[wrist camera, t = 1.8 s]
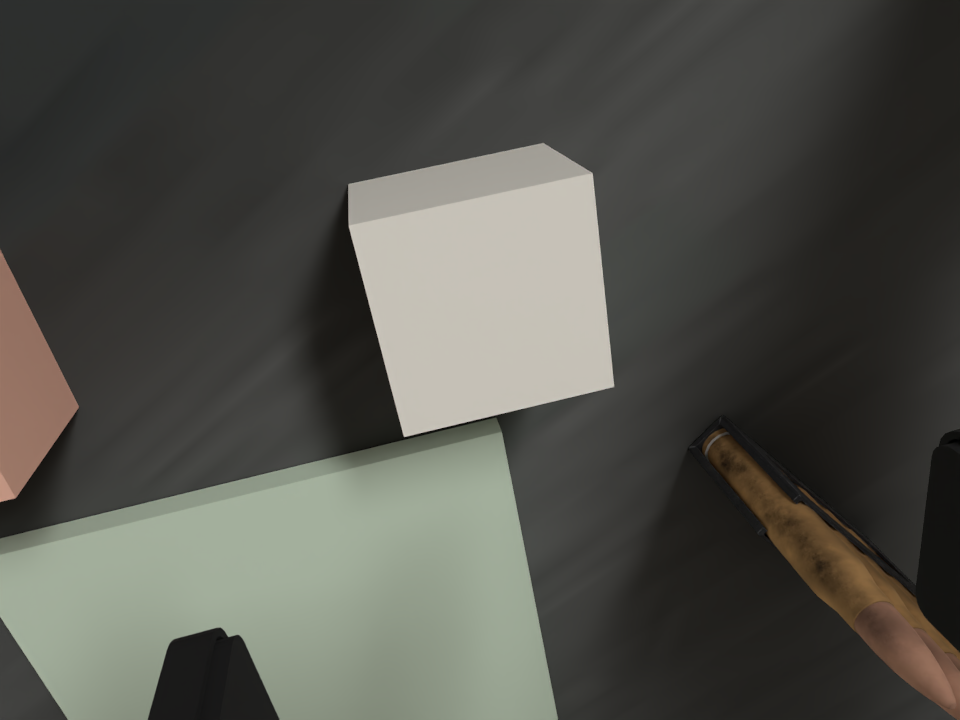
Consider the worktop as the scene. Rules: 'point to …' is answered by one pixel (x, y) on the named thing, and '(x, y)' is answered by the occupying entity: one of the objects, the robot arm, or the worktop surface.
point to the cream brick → (484, 284)
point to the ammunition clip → (833, 561)
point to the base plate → (301, 589)
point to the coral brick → (26, 390)
